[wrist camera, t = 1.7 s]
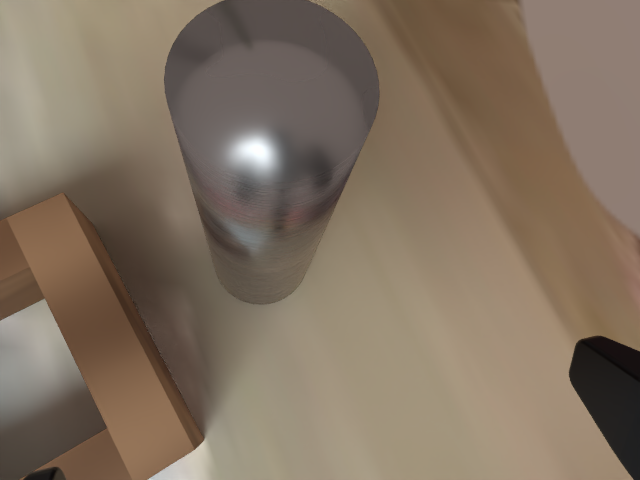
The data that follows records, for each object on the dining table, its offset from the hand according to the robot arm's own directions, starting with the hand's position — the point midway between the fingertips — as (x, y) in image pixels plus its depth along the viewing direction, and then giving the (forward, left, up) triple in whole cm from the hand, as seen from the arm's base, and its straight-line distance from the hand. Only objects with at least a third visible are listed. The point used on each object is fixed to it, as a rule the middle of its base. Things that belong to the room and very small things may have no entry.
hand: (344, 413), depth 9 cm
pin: (+5, -4, -12) cm, 14 cm away
